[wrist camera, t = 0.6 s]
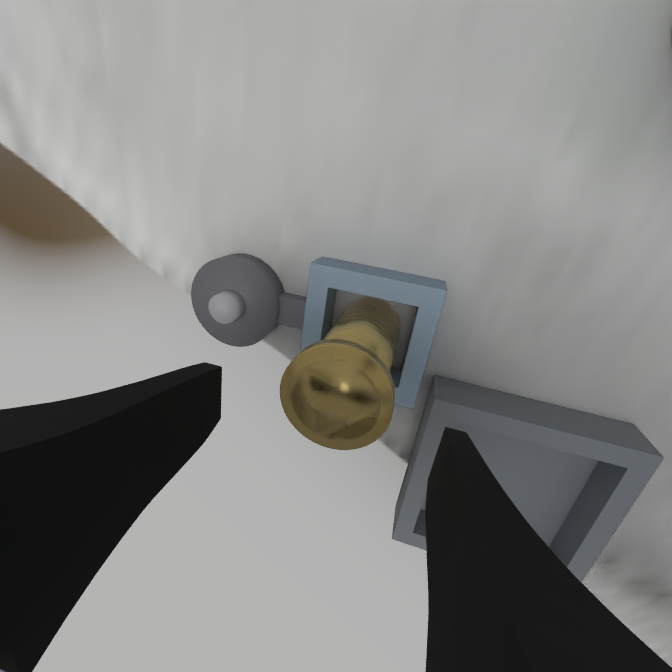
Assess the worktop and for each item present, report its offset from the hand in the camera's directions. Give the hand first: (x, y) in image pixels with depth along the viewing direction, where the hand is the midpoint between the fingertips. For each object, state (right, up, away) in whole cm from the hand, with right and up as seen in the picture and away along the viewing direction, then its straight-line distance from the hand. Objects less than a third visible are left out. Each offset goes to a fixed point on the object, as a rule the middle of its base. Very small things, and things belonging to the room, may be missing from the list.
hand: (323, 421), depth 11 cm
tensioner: (-1, +4, +9) cm, 10 cm away
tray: (+10, -5, +10) cm, 15 cm away
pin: (+2, +3, +8) cm, 9 cm away
